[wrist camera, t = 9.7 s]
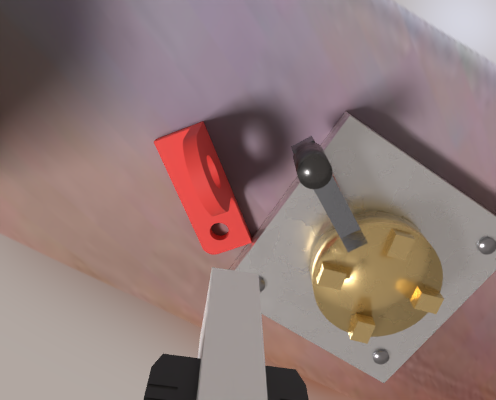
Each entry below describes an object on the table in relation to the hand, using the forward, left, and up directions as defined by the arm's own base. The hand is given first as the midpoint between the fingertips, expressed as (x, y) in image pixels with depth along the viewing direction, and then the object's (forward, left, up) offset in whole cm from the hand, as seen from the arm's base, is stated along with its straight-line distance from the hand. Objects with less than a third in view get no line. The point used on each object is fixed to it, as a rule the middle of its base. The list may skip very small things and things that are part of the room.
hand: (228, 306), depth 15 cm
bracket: (0, -7, -28) cm, 28 cm away
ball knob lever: (+13, -2, -25) cm, 28 cm away
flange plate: (+16, -4, -27) cm, 32 cm away
